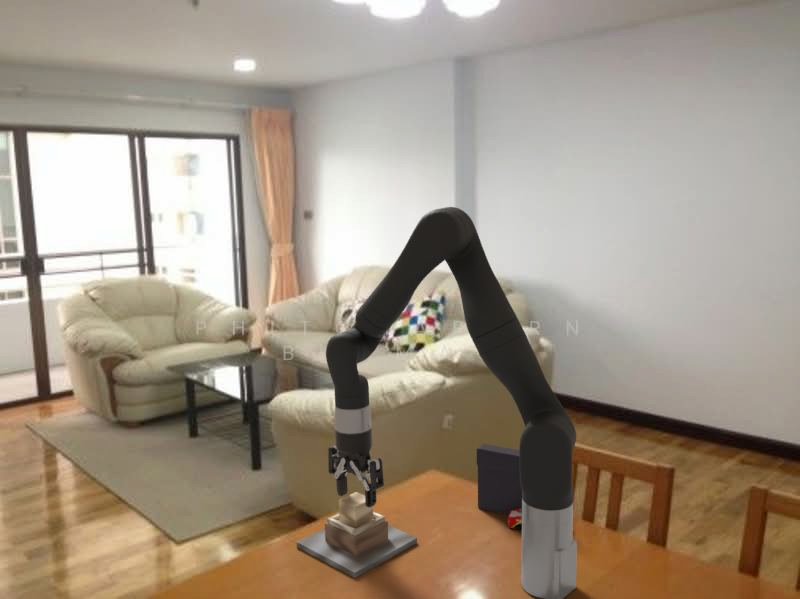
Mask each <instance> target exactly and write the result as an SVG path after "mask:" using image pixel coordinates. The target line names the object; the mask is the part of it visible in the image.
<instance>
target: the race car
mask: <svg viewBox="0 0 800 599" xmlns="http://www.w3.org/2000/svg"><path fill="white" fill-rule="evenodd" d="M507 526H508V527H509V528H511V529H513V530H517V531H518V532H519V531H520V532H522V508H520V509H515V510H511V511H510V514H509V515H507Z"/></svg>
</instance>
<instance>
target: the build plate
mask: <svg viewBox="0 0 800 599" xmlns="http://www.w3.org/2000/svg"><path fill="white" fill-rule="evenodd" d="M416 544H418V537H416V536H414V535H412V534H410V533H407V532H405V531H402V530H401V529H398V528H397V527H393V526H391V525H389V520H386V516H385V515H382V514H380V513H378V512H375V511H373V520H372V521H370V522H368V523H366V524H364V525H362V526H360V527H358V528H356V529H355V528H352V527H350V526H348V525H346V524H344V523H342V522H340V518H339V512H338V513H336V514H334V515H332V516H330V517H327V520H326V521H325V522H324V527H323V529H320V530H318V531H316V532H314V533H312V534H309V535H308V536H305V537H304V538H301V539H299V540H298V541H296V548H297V549H299V550H301V551H304V552H305V553H307V554H309V555H311V556H313V557H314V558H316V559H318V560H320V561H321V562H323V563H325V564H328V565H329V566H332V567H333V568H335V569H337V570H339V571H341V572H342V571H343V572H342V573H345V575H348V576H350V577H352V578H354V579H356V578H358V577H360V576H361V575H364V574H365V573H367V572H369V571H370V570H372V569H373V568H375V567H378V566H379V565H381V564H383V563H384V562H386V561H387V560H390V559H391V558H393V557H395V556H396V555H399V554H400V553H403V551H405V550H408V549H409V548H411V547H412V546H414V545H416Z"/></svg>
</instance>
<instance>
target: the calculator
mask: <svg viewBox="0 0 800 599" xmlns="http://www.w3.org/2000/svg"><path fill="white" fill-rule="evenodd" d="M476 465H477V508H478V509H479V510H480V509H481V510H485V511H488V512H492V513H497V514H500V515H506V516H509V514H510V511H511V510H515V509H520V508H522V489H521V486H520V460H519V449H514V448H510V447H509V448H508V447H505V446H504V447H503V446H499V445H493V444H486V443H482V445H480V446H479V447H478V448H476Z"/></svg>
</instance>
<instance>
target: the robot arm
mask: <svg viewBox="0 0 800 599" xmlns="http://www.w3.org/2000/svg"><path fill="white" fill-rule="evenodd" d="M473 221H474V220H472V218H471V216H469V215H468V214H467V212H465V211H464V210H462V209H461V208H458V207H455V206H446V207H441V208H436V209H432V210H430V211H428V212H427V213H425V214H424V215H423V216H421V218H420V220H419V221H418V223H417V225H416V226H415V228H414V229H413V231H412V232H411V235H410V236H409V239H408V240H407V242H406V244H405V245H404V248H403V249H402V251H401V253H400V255H399V256H398V257H397V259H396V261H395V262H394V263H393V266H392V267H391V268H390V270H388V272H387V274H386V275H385V276H384V277H383V278H382V280H381V281H380V283H378V285H377V286H376V287H375V288H374V290H373V291H372V292H371V294H369V296H368V297H367V299H366V300H364V302H363V303H362V305H361V306H360V307H359V309H358V310H357V312H356V313H355V319H354V320H355V322H354V323H353V325H352V326H351V327H350V328H349V329H347V330H344V331H342V332H339V333H337V334H334V335H333V336H331V337H330V338H329V340H328V342H327V345H326V348H325V349H326V350H325V357H326V358H325V359H326V363H327V367H328V371H329V373H330V378H331V381H332V384H333V386H334V432H335V433H334V436H335V437H334V438H335V445H332V446H331V447H328V451H327V452H328V454H327V455H328V459H327V460H328V473H329V474H330V475H331V474H332V475H333V477H334V479H336V491H337V495H338V496H339V497H342V496H345V495H347V493H348V477H347V474H351V475H354V476H356V477H357V479H358V481H359V482H361V483H362V484H363V486H364V488H365V490H364V495H365V503H366V507H372V506H373V507H374V506H375V505H376V504H377V490H379V489H380V488H382V487H384V486H385V483H384V470H383V469H384V468H383V461H382V459H381V457H379V458H376V459H374V458H372V457H371V454H370V451H371V449H372V447H373V437H372V436H373V434H372V432H373V431H372V430H373V428H372V427H373V426H372V412H371V411H372V410H371V407H370V390H369V389H370V388H369V382H368V379H367V378H366V377H365V376H364V375H362V374H359V370H358V364H359V363H361V362H364V361H366V360H367V359H369V358H370V357H371V356H372V355H373V353H374V352H375V350H376V349H377V348H378V346H379V345H380V343H381V341H382V339H383V337H384V335H385V333H387V332H388V330H389V329H390V328H391V327H392V326H393V324H394V323H395V322H396V321H397V320H398V319H399V317H401V315H402V314H403V312H404V311H405V309H406V308H407V307H408V305H409V303H410V302H411V300H412V298H413V295H414V294H415V292H416V290H417V289H418V287H419V286H420V285H421V283H422V282H423V281H424V280H425V278H426V277H427V276H428V275H429V274H430V273H431V272H433V271H434V270H435V269H436V268H437V267H439V265H440V264H441V263H443V262H446V265H448V267H449V269H450V271H451V273H452V275H453V277H454V280H455V281H456V284H457V286H458V287H457V288H458V290H459V293H460V298H461V305H462V310H463V316H464V321H465V325H466V328H467V331H468V334H469V335H470V338H471V340H472V343H473V344H474V347H475V348H476V350H477V352H478V355H479V356H480V358H481V359H482V361H483V362H484V365H486V367H487V369H488V370H489V371H490V372H491V373H492V374H493V375H494V377H495V378H496V380H498V381H499V382H500V383H501V384H502V385H503V386H504V388H506V390H507V392H509V394H510V395H511V397H512V399H513V401H514V403H515V405H516V406H517V409H518V411H519V413H520V416H521V418H522V421H523V424H524V427H525V428H524V430H523V431H522V433H521V435H520V439H519V449H518V450H519V460H520V486H521V489H522V531H521V579H520V581H521V583H520V584H521V587H522V588H523V590H524V591H525V592H526V593H528V594H530V596H533V597H536V598H539V599H565V597H567V596H568V595H569V594H570V593H572V592H573V591H574V590H575V589H577V565H578V564H577V563H578V562H577V560H578V558H577V556H578V554H577V553H578V541H577V540H576V539H574V538H573V532H574V531H573V530H574V529H573V528H574V519H573V518H574V487H573V483H572V481H573V480H572V476H573V474H572V473H573V472H572V470H573V464H572V463H573V450H574V448H575V444H576V442H577V432H576V427H575V425H574V423H573V421H572V419H571V417H570V415H568V413H567V411H566V409H565V408H564V407H563V405H562V403H561V402H560V400H559V399H558V397H557V395H556V394H555V392H554V391H553V390H552V387H551V386H550V384H549V382H548V380H547V379H546V377H545V374H544V372H543V370H542V367H541V365H540V363H539V360H538V358H537V356H536V354H535V352H534V350H533V347H532V345H531V343H530V340H529V339H528V337H527V333H526V332H525V331H524V328H523V326H522V324H521V322H520V320H519V318H518V317H517V313H516V312H515V310H514V309H513V307H512V306H511V304H510V301H509V299H508V297H507V295H506V293H505V290H504V289H503V288H502V285H501V283H500V282H499V281H498V279H497V277H496V275H495V273H494V271H493V269H492V267H491V264H490V262H489V260H488V258H487V255H486V253H485V250H484V247H483V245H482V242H481V240H480V236H479V233H478V231H477V228H476V226H475V223H474V222H473ZM366 472H367V473H366ZM365 473H366V474H365ZM368 480H369V481H370V483H369V481H368Z"/></svg>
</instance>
